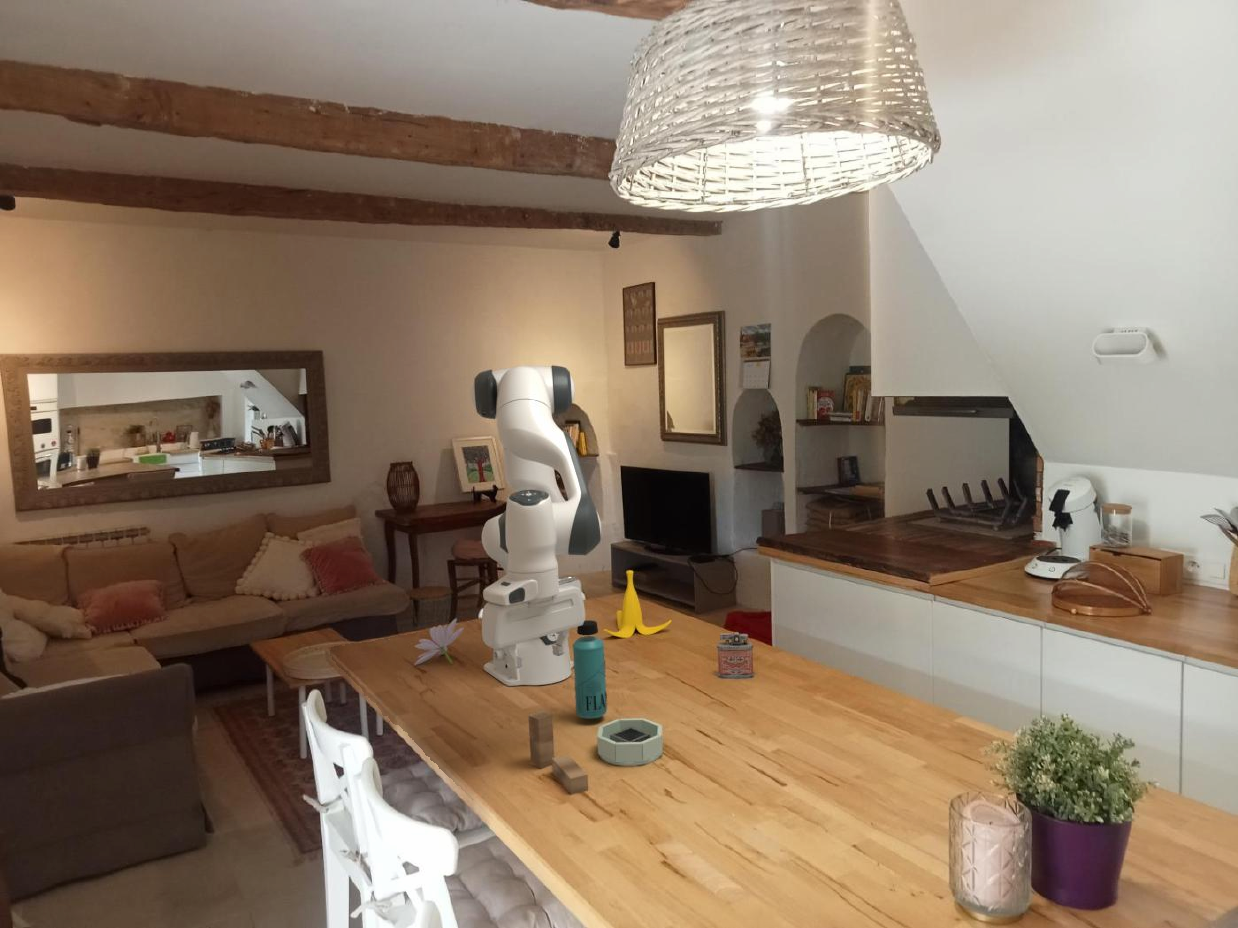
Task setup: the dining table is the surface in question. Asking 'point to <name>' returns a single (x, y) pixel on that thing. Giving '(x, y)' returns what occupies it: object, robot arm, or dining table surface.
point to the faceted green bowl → (630, 743)
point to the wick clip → (630, 735)
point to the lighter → (735, 657)
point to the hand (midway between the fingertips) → (537, 661)
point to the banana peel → (632, 614)
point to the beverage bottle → (589, 672)
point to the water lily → (438, 641)
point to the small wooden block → (570, 774)
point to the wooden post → (541, 739)
